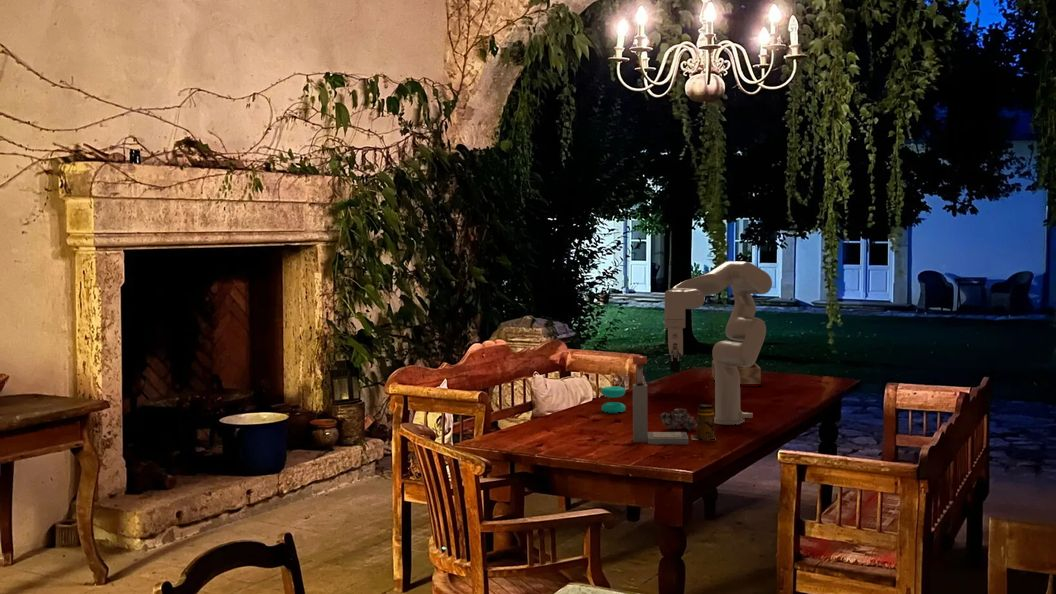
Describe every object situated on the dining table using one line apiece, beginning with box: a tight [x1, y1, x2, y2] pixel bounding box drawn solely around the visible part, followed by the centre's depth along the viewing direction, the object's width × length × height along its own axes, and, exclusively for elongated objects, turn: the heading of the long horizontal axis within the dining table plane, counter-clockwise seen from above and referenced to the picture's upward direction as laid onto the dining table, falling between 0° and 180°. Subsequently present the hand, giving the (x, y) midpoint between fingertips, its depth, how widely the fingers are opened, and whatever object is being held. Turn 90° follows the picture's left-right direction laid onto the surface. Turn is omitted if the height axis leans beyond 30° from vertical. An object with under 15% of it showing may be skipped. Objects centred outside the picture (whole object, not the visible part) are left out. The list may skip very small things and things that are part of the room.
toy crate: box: [711, 360, 762, 384], centre depth 508 cm, size 20×29×9 cm
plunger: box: [632, 355, 648, 386], centre depth 370 cm, size 5×5×13 cm
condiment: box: [690, 403, 717, 441], centre depth 375 cm, size 7×8×12 cm
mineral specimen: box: [659, 407, 697, 432], centre depth 391 cm, size 12×9×10 cm
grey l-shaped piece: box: [632, 383, 690, 445], centre depth 371 cm, size 19×12×20 cm, turn 85°
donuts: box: [600, 385, 627, 414], centre depth 432 cm, size 10×10×10 cm
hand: (675, 370), depth 383 cm, fingers open, 9 cm apart
